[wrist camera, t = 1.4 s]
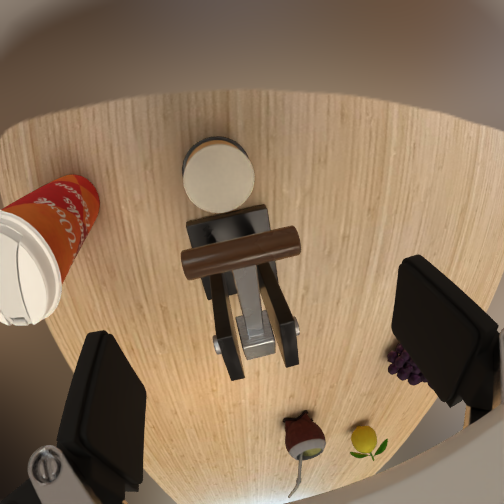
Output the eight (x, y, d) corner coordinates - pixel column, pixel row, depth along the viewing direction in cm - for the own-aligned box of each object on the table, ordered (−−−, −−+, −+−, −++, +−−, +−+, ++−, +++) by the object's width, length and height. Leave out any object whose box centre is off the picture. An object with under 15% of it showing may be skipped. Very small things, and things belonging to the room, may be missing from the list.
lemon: (375, 415, 57) (393, 449, 48) (366, 428, 60) (381, 461, 51) (350, 421, 56) (366, 458, 47) (341, 434, 58) (356, 469, 50)
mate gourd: (322, 409, 51) (349, 476, 38) (302, 431, 54) (323, 493, 41) (288, 408, 48) (311, 481, 35) (269, 430, 51) (287, 498, 38)
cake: (175, 145, 27) (172, 151, 23) (243, 130, 27) (250, 134, 24) (190, 208, 30) (190, 223, 26) (254, 193, 30) (263, 207, 27)
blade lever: (178, 235, 13) (183, 281, 12) (288, 210, 14) (306, 252, 12) (221, 335, 23) (228, 364, 22) (285, 320, 23) (294, 348, 22)
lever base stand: (186, 221, 30) (182, 317, 17) (264, 204, 31) (316, 285, 18) (207, 294, 35) (218, 402, 22) (276, 278, 35) (319, 377, 22)
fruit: (383, 325, 47) (457, 314, 45) (377, 372, 51) (446, 359, 49) (400, 363, 38) (483, 346, 36) (389, 411, 41) (466, 393, 39)
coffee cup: (117, 234, 30) (73, 332, 16) (51, 244, 28) (-13, 334, 15) (102, 154, 26) (27, 206, 13) (33, 170, 25) (-59, 229, 11)
